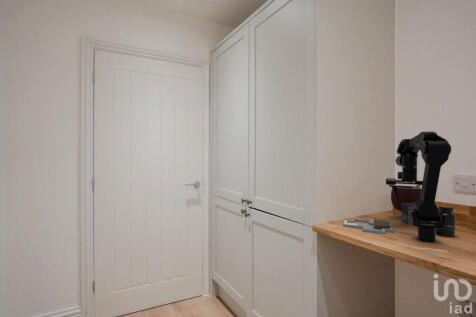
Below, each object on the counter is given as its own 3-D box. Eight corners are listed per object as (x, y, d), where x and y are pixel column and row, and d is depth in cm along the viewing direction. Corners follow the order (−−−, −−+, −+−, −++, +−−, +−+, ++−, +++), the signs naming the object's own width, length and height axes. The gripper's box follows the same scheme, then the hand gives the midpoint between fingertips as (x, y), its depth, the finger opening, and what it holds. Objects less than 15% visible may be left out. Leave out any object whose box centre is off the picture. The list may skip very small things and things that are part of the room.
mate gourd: (394, 221, 137) (394, 182, 137) (387, 215, 150) (388, 179, 150) (429, 224, 132) (430, 183, 132) (420, 217, 146) (420, 180, 145)
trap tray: (391, 226, 127) (391, 222, 126) (395, 238, 109) (395, 233, 109) (345, 221, 135) (345, 217, 135) (342, 231, 118) (342, 226, 118)
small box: (423, 224, 132) (423, 202, 132) (431, 227, 126) (431, 205, 126) (400, 223, 133) (400, 202, 133) (407, 227, 127) (407, 204, 127)
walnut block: (389, 230, 116) (389, 221, 116) (374, 228, 119) (374, 219, 119) (388, 227, 121) (389, 218, 121) (373, 226, 123) (374, 217, 123)
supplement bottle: (446, 237, 111) (447, 208, 110) (430, 233, 117) (431, 205, 117) (459, 236, 112) (460, 207, 112) (443, 231, 119) (443, 204, 119)
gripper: (431, 167, 125) (431, 201, 125) (385, 166, 134) (385, 197, 134) (436, 167, 115) (435, 204, 115) (386, 166, 124) (385, 200, 124)
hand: (409, 201), depth 122 cm, fingers open, 9 cm apart
